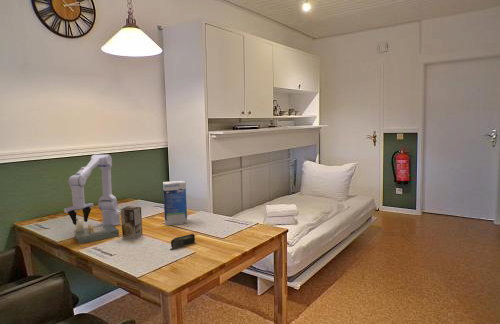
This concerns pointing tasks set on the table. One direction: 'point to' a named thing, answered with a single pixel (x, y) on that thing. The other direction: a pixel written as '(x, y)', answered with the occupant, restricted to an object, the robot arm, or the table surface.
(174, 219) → the string lights box
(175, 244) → the mobile phone
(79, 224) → the cream can
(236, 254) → the table surface
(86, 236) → the grey flat block
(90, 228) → the port cover
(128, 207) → the coffee box
